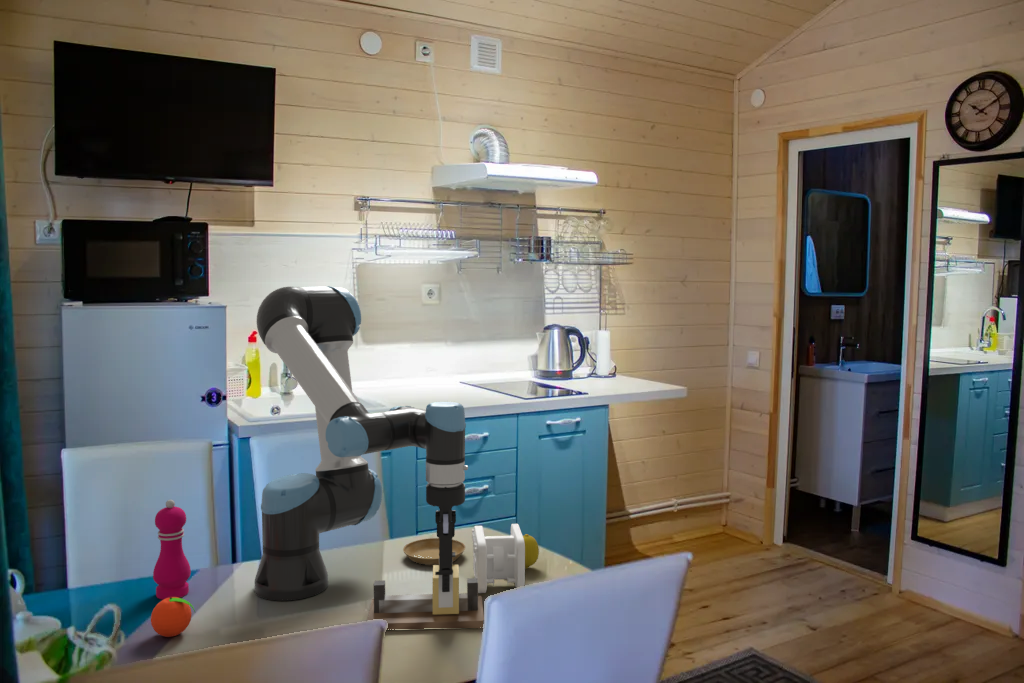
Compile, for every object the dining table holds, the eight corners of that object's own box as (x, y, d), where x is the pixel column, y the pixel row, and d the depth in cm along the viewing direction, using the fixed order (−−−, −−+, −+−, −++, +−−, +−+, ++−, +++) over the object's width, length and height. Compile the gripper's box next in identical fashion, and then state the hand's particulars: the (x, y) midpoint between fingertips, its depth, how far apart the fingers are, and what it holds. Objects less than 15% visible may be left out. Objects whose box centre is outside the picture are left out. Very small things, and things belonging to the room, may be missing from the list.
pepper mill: (147, 594, 166) (145, 499, 164) (181, 584, 171) (179, 493, 170) (162, 603, 161) (160, 506, 159) (197, 593, 166) (195, 499, 165)
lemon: (543, 567, 183) (543, 533, 182) (530, 574, 178) (530, 539, 178) (523, 562, 186) (523, 528, 185) (509, 569, 181) (509, 535, 181)
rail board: (366, 631, 148) (365, 595, 148) (372, 605, 160) (371, 571, 160) (484, 628, 150) (484, 592, 150) (481, 602, 162) (481, 569, 162)
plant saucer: (427, 574, 179) (427, 562, 179) (390, 557, 190) (390, 546, 189) (478, 559, 189) (478, 548, 189) (440, 544, 200) (440, 533, 199)
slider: (432, 614, 152) (432, 578, 151) (433, 600, 159) (433, 565, 158) (458, 613, 152) (458, 577, 152) (458, 599, 159) (458, 564, 159)
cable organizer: (525, 597, 165) (526, 542, 165) (475, 599, 164) (475, 544, 163) (518, 571, 180) (518, 521, 179) (471, 572, 179) (471, 522, 178)
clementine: (203, 627, 150) (203, 590, 149) (187, 644, 143) (186, 605, 143) (162, 626, 150) (161, 589, 150) (143, 643, 143) (142, 604, 143)
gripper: (466, 496, 144) (466, 619, 146) (463, 470, 164) (463, 579, 166) (424, 496, 143) (425, 620, 145) (427, 471, 163) (427, 580, 165)
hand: (445, 598), depth 155 cm, fingers closed on slider, 7 cm apart
